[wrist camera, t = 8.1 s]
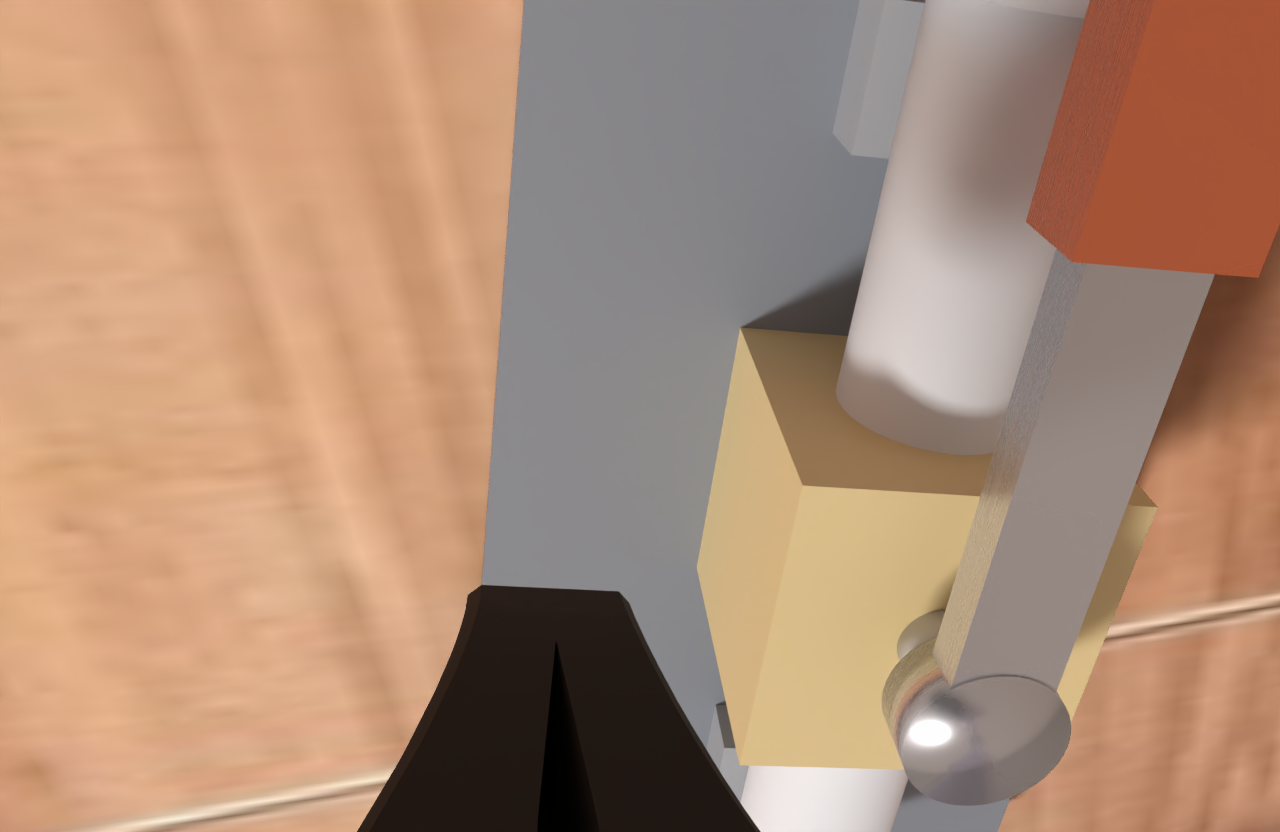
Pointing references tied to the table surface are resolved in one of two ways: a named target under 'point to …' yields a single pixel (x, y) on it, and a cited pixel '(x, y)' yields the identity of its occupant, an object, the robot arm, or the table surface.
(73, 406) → the table surface
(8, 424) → the table surface
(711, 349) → the valve board
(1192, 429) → the table surface
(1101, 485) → the valve lever
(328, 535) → the table surface
